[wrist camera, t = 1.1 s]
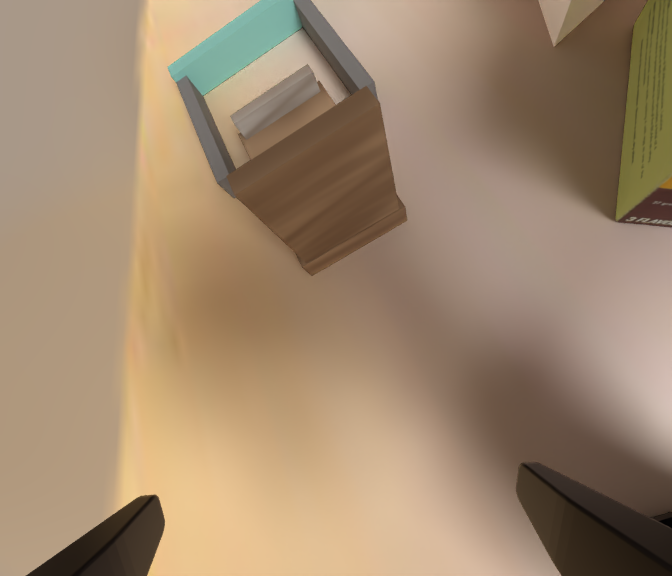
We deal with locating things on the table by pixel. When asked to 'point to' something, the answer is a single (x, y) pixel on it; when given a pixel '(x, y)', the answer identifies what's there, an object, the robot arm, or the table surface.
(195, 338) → the table surface
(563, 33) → the white block
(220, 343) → the table surface
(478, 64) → the table surface
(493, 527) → the table surface
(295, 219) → the wooden drawer
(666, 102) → the protein box
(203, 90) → the bay
